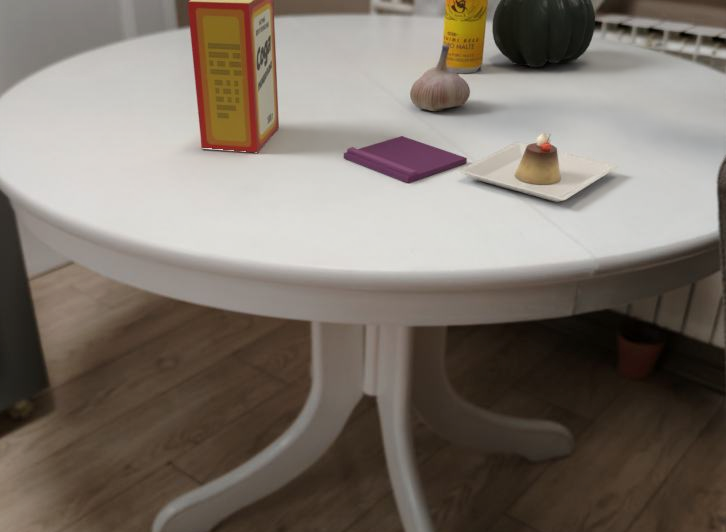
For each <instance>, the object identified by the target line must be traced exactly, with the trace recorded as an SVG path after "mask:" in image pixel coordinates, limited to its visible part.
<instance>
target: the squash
mask: <svg viewBox="0 0 726 532" xmlns="http://www.w3.org/2000/svg"><path fill="white" fill-rule="evenodd" d="M593 5H594V4H593V2H592V0H500V1H499V3H497V5H496V7H495V9H494V10H495V11H494V14H493V16H492V29H491V30H492V31H491V32H492V37H493V41H494V44H495V46H496V48H497V49H498V50H499V52H500V53H501V54H502V55H503V56H504V57H505V58H507V59H508V60H509V61H510V62H511V63H512V64H514V65H517V66H529V67H531V68H540V67H543V66H544V65H545V64H547V61H548V62H549V63H550V64H554V63H558V64H568V63H572V62H573V61H575V60H577V59H579V58H580V57H581V56H583V55H584V54H585V52H587V50H588V48H589V47H590V45H591V43H592V41H593V37H594V32H595V26H596V12H595V9H594V6H593Z"/></svg>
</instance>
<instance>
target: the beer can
mask: <svg viewBox="0 0 726 532" xmlns="http://www.w3.org/2000/svg"><path fill="white" fill-rule="evenodd" d="M488 3H489V0H445V3H444V5H445V6H444V20H443V21H444V22H443V33H442V45H443V44H447V45H449V51H448V55H447V62H446V66H447V68H449V69H452V70H454V71H455V72H456V73H457V74H471V73H475V72H477V71H479V68H480V67H482V66H483V59H484V50H485V49H484V48H485V37H486V26H487V17H488V16H487V15H488V5H489V4H488Z"/></svg>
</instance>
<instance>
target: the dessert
mask: <svg viewBox="0 0 726 532" xmlns="http://www.w3.org/2000/svg"><path fill="white" fill-rule="evenodd" d="M550 137H551V133H550V134H549V135H547V133H545V132H542V133H541V134H540V135H538V136H537V138H536V142H535V143H530V144H528V143H525V142H520V141H516V142H514V143H512V144H509V145H508V146H506V147H503V148H501V149H500V150H497V151H495V152H493V153H491V154H489V155H487V156H485V157H483V158H481V159H479V160H477V161H475V162H473V163H470V164H469V165H467V166H464V167H462V168H460V169H458V170H457V172H459V173H460V174H463V175H465V176H467V177H469V178H471V179H474V180H476V181H479V182H483V183H486V184H490V185H493V186H497V187H500V188H504V189H507V190H511V191H515V192H519V193H521V194H522V193H523V194H526V195H529V196H532V197H533V196H534V197H537V198H540V199H544V200H547V201H551V202H554V203H558V202H562V201H566V200H568V199H570V198H571V197H573V196H574V195H576V194H578V193H579V192H581V191H583V190H584V189H585V188H587V187H589V186H591V185H592V184H593V183H595V182H597V181H599V180H600V179H602V178H603V177H605V176H606V175H608V174H610V173H611V172H613V171H615V170H616V169H618V168H619V165H618V164H617V165H616V164H612V163H609V162H608V163H607V162H605V161H599V160H595V159H591V158H587V157H583V156H578V155H574V154H570V153H565V152H562V151H558V148H557V147H556V146H555V145H552V144H551V138H550Z"/></svg>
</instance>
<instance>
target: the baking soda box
mask: <svg viewBox="0 0 726 532" xmlns="http://www.w3.org/2000/svg"><path fill="white" fill-rule="evenodd" d="M274 6H275V5H274V0H188V1H187V11H188V20H189V21H188V22H189V30H190V33H189V34H190V41H191V42H190V43H191V52H192V62H193V73H194V81H195V82H194V83H195V93H196V103H197V115H198V123H199V124H198V126H199V135H200V144H201V146H200V147H201V149H202V148H212V149H223V150H234V151H246V152H258V151H259V150H260V149H261V148H262V149H263V147H264V146H265V145H266V144H267V143H268V141H269V140H270V139H271V138H272V137H273V135H274V134H275V133H276V132H277V131H278V129H279V128H280V123H279V120H280V119H279V98H278V97H279V95H278V77H277V75H278V74H277V55H276V54H277V51H276V49H277V48H276V29H275V27H276V26H275V7H274ZM276 130H277V131H276ZM275 131H276V132H275ZM271 136H272V137H271ZM270 137H271V138H270ZM269 138H270V139H269ZM268 139H269V140H268ZM267 140H268V141H267ZM266 142H267V143H266ZM265 143H266V144H265ZM264 144H265V145H264ZM263 145H264V146H263ZM262 146H263V147H262ZM262 149H261V150H262ZM261 150H260V151H261ZM260 151H259V152H260ZM259 152H258V153H259Z"/></svg>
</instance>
